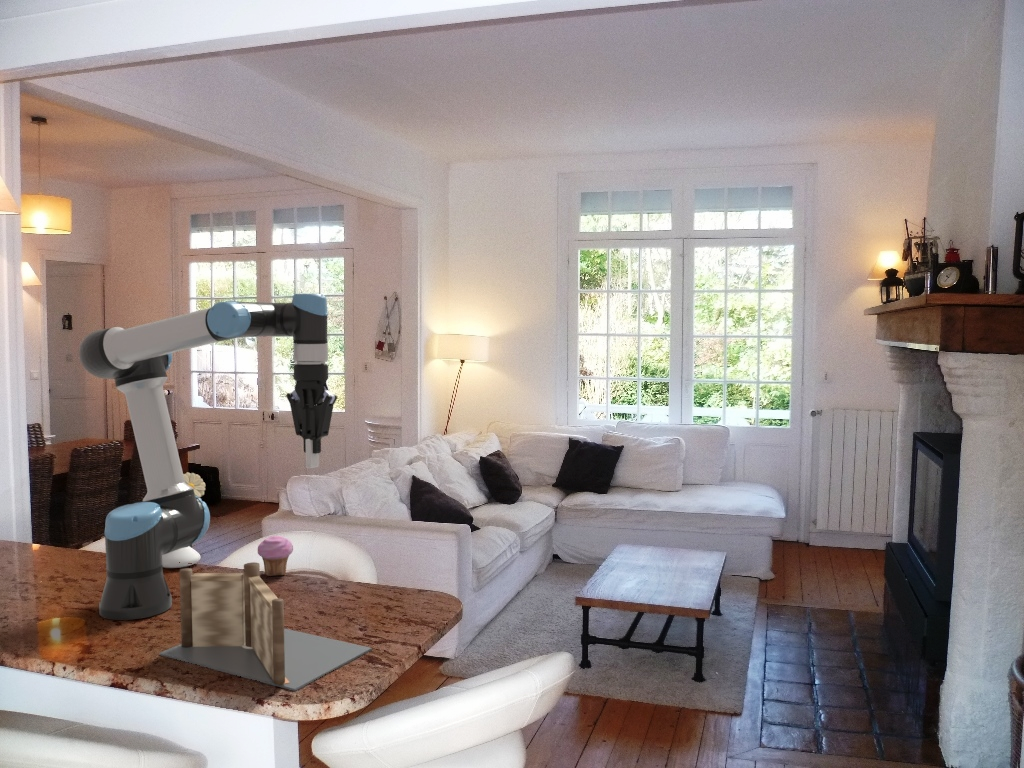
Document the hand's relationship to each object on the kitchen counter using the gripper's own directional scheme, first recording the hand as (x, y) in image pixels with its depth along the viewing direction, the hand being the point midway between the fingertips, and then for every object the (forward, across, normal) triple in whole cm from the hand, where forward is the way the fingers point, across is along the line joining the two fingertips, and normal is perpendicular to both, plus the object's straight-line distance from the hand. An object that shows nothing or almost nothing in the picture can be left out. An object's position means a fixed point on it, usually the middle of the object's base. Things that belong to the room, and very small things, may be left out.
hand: (312, 467), depth 195 cm
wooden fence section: (+32, 0, +27) cm, 42 cm away
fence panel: (+32, -15, +31) cm, 47 cm away
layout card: (+32, -10, +25) cm, 42 cm away
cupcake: (+33, +27, -16) cm, 45 cm away
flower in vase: (+33, +55, -10) cm, 65 cm away
